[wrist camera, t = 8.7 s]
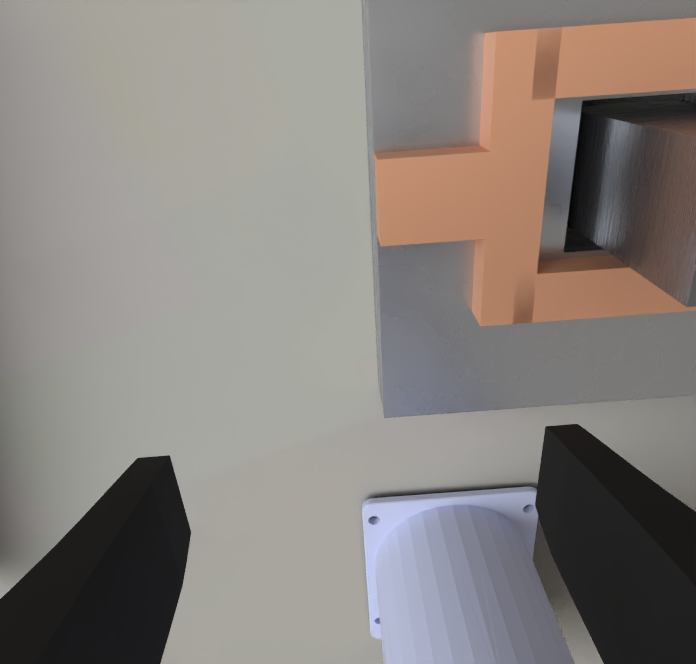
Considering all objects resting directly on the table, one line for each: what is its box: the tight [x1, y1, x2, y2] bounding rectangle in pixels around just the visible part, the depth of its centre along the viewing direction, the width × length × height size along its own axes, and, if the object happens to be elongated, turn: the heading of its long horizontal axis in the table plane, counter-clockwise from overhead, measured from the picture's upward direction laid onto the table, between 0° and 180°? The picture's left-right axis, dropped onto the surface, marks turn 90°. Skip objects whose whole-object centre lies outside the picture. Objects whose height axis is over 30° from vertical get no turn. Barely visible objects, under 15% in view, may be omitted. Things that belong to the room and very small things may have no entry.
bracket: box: [374, 18, 696, 326], centre depth 16 cm, size 8×12×1 cm, turn 94°
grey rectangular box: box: [567, 100, 696, 307], centre depth 15 cm, size 3×3×8 cm
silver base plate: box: [362, 0, 696, 418], centre depth 17 cm, size 16×14×2 cm
